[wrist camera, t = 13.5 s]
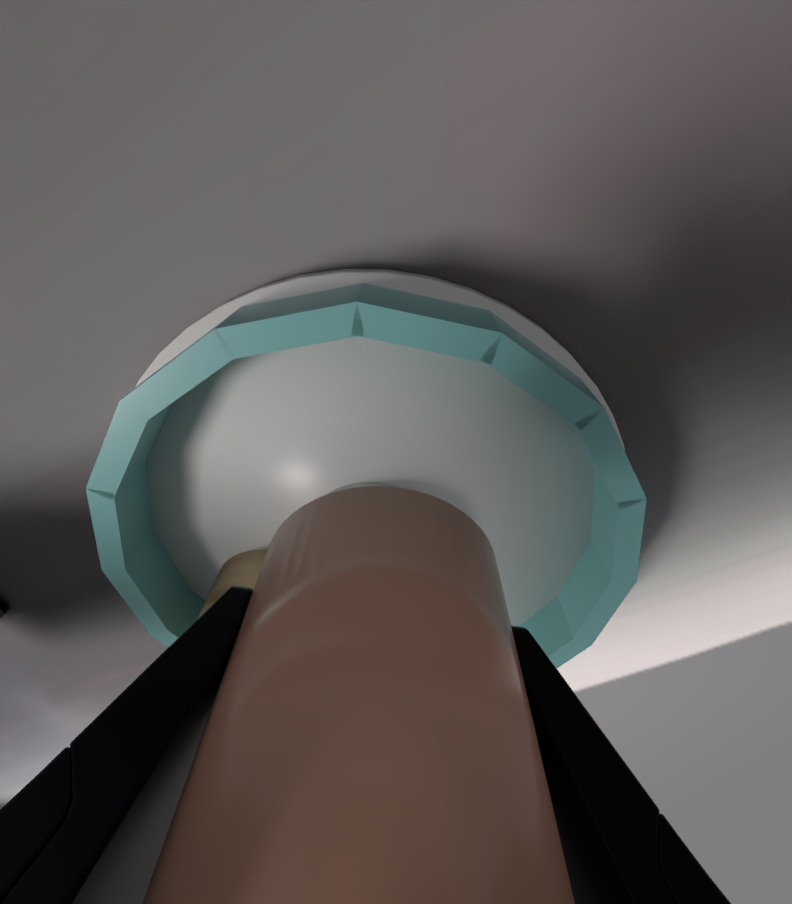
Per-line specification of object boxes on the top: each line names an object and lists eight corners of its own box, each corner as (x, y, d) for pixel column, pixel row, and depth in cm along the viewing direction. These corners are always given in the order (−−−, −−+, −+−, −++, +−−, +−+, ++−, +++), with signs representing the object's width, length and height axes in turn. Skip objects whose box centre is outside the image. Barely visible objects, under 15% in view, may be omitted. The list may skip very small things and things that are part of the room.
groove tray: (329, 702, 31) (321, 760, 28) (17, 459, 21) (-48, 509, 18) (682, 573, 24) (722, 632, 21) (467, 110, 14) (485, 94, 11)
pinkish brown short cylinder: (344, 669, 12) (298, 1050, 7) (217, 542, 9) (2, 977, 4) (529, 610, 10) (647, 1032, 5) (434, 446, 8) (483, 912, 3)
